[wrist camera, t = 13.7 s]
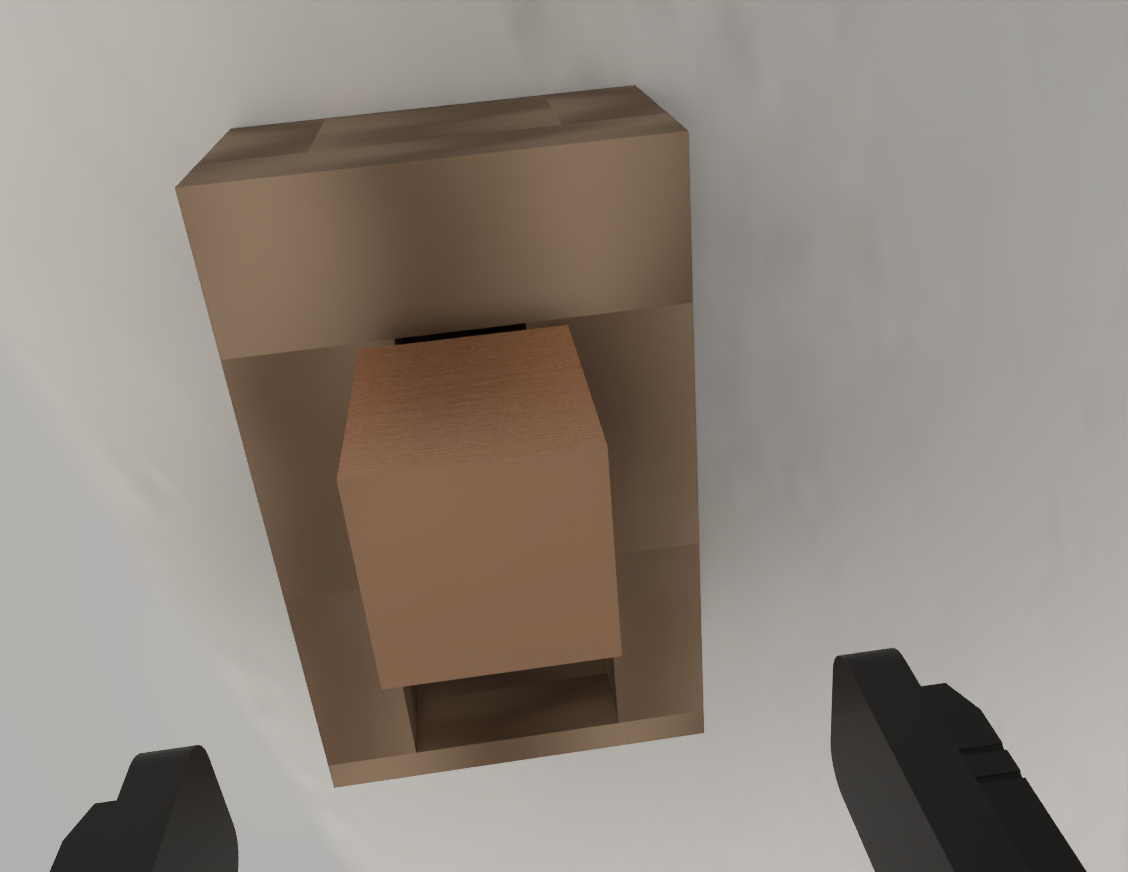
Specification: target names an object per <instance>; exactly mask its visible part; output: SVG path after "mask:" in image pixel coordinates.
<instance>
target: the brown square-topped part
mask: <svg viewBox="0 0 1128 872" xmlns="http://www.w3.org/2000/svg"><path fill="white" fill-rule="evenodd" d="M402 339H403V344H402V345H394V346H385V347H377V348H368V349H360V350H359V353H358V359H357V365H356V370H355V376H354V382H353V388H352V394H351V399H350V405H349V411H348V417H347V423H346V428H345V434H344V440H343V446H342V451H341V457H340V463H339V469H338V475H337V484H338V489H339V494H340V498H341V503H342V508H343V512H344V517H345V522H346V526H347V531H348V536H349V540H350V545H351V549H352V554H353V559H354V563H355V568H356V573H357V577H358V582H359V587H360V591H361V596H362V601H363V605H364V610H365V615H366V619H367V624H368V628H369V633H370V638H371V642H372V647H373V652H374V656H375V661H376V666H377V670H378V675H379V680H380V684H381V689H382V690H383V689H390V688H397V687H404V686H411V685H418V684H426V683H433V682H440V681H447V680H454V679H461V678H469V677H476V676H483V675H490V674H497V673H504V672H512V671H519V670H526V669H533V668H540V667H548V666H555V665H562V664H569V663H576V662H583V661H591V660H598V659H605V658H612V657H619V656H622V651H621V636H620V622H619V607H618V592H617V578H616V563H615V548H614V534H613V519H612V505H611V490H610V475H609V461H608V446H607V443H606V440H605V437H604V434H603V431H602V428H601V425H600V421H599V418H598V415H597V412H596V409H595V406H594V403H593V400H592V397H591V394H590V391H589V388H588V385H587V382H586V379H585V376H584V372H583V369H582V366H581V363H580V360H579V357H578V354H577V351H576V348H575V345H574V342H573V339H572V336H571V333H570V330H569V327H568V325H563V326H555V327H546V328H538V329H529V330H523V324H522V323H521V324H513V325H505V326H496V327H488V328H480V329H472V330H463V331H455V332H447V333H439V334H430V335H422V336H414V337H406V338H402Z"/></svg>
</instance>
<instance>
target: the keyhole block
mask: <svg viewBox="0 0 1128 872" xmlns="http://www.w3.org/2000/svg"><path fill="white" fill-rule="evenodd" d="M175 190H176V193H177V197H178V201H179V205H180V208H181V212H182V216H183V220H184V224H185V227H186V231H187V235H188V239H189V242H190V246H191V250H192V254H193V257H194V261H195V265H196V269H197V272H198V276H199V280H200V284H201V288H202V291H203V295H204V299H205V303H206V306H207V310H208V314H209V318H210V321H211V325H212V329H213V333H214V336H215V340H216V344H217V348H218V352H219V355H220V359H221V363H222V367H223V370H224V374H225V378H226V382H227V385H228V389H229V393H230V397H231V400H232V404H233V408H234V412H235V416H236V419H237V423H238V427H239V431H240V434H241V438H242V442H243V446H244V449H245V453H246V457H247V461H248V464H249V468H250V472H251V476H252V480H253V483H254V487H255V491H256V495H257V498H258V502H259V506H260V510H261V513H262V517H263V521H264V525H265V529H266V532H267V536H268V540H269V544H270V547H271V551H272V555H273V559H274V562H275V566H276V570H277V574H278V577H279V581H280V585H281V589H282V593H283V596H284V600H285V604H286V608H287V611H288V615H289V619H290V623H291V626H292V630H293V634H294V638H295V641H296V645H297V649H298V653H299V657H300V660H301V664H302V668H303V672H304V675H305V679H306V683H307V687H308V690H309V694H310V698H311V702H312V705H313V709H314V713H315V717H316V721H317V724H318V728H319V732H320V736H321V739H322V743H323V747H324V751H325V754H326V758H327V762H328V766H329V769H330V773H331V777H332V781H333V785H334V788H335V787H342V786H349V785H355V784H362V783H369V782H376V781H382V780H389V779H396V778H403V777H409V776H416V775H423V774H430V773H436V772H443V771H450V770H456V769H463V768H470V767H477V766H483V765H490V764H497V763H504V762H510V761H517V760H524V759H531V758H537V757H544V756H551V755H558V754H564V753H571V752H578V751H585V750H591V749H598V748H605V747H612V746H618V745H625V744H632V743H638V742H645V741H652V740H659V739H665V738H672V737H679V736H686V735H692V734H699V733H704V715H703V677H702V638H701V600H700V561H699V523H698V485H697V446H696V408H695V370H694V331H693V293H692V254H691V216H690V178H689V139H688V130H687V129H685V128H684V127H683V126H682V125H681V124H680V123H678V122H677V121H676V120H675V119H674V118H673V117H671V116H670V115H669V114H668V113H667V112H665V111H664V110H663V109H662V108H661V107H660V106H658V105H657V104H656V103H655V102H654V101H653V100H651V99H650V98H649V97H648V96H647V95H646V94H644V93H643V92H642V91H641V90H640V89H638V88H637V87H636V86H635V85H634V86H625V87H615V88H606V89H597V90H588V91H578V92H569V93H560V94H550V95H541V96H532V97H522V98H513V99H504V100H494V101H485V102H476V103H467V104H457V105H448V106H439V107H429V108H420V109H411V110H401V111H392V112H383V113H374V114H364V115H355V116H346V117H336V118H327V119H318V120H308V121H299V122H290V123H280V124H271V125H262V126H253V127H243V128H234V129H230V130H229V131H228V132H227V133H226V134H225V135H224V137H223V138H222V139H221V140H220V141H219V142H218V143H217V144H216V145H215V146H214V147H213V148H212V149H211V150H210V151H209V152H208V153H207V154H206V156H205V157H204V158H203V159H202V160H201V161H200V162H199V163H198V164H197V165H196V166H195V167H194V168H193V169H192V170H191V171H190V172H189V173H188V175H187V176H186V177H185V178H184V179H183V180H182V181H181V182H180V183H179V184H178V185H177V186H176V187H175ZM521 323H522V324H523V330H529V329H538V328H546V327H555V326H563V325H568V327H569V330H570V333H571V336H572V339H573V342H574V345H575V348H576V351H577V354H578V357H579V360H580V363H581V366H582V369H583V372H584V376H585V379H586V382H587V385H588V388H589V391H590V394H591V397H592V400H593V403H594V406H595V409H596V412H597V415H598V418H599V421H600V425H601V428H602V431H603V434H604V437H605V440H606V443H607V446H608V461H609V475H610V490H611V505H612V519H613V534H614V548H615V563H616V578H617V592H618V607H619V622H620V636H621V651H622V656H619V657H612V658H605V659H598V660H591V661H583V662H576V663H569V664H562V665H555V666H548V667H540V668H533V669H526V670H519V671H512V672H504V673H497V674H490V675H483V676H476V677H469V678H461V679H454V680H447V681H440V682H433V683H426V684H418V685H411V686H404V687H397V688H390V689H383V690H382V689H381V684H380V680H379V675H378V670H377V666H376V661H375V656H374V652H373V647H372V642H371V638H370V633H369V628H368V624H367V619H366V615H365V610H364V605H363V601H362V596H361V591H360V587H359V582H358V577H357V573H356V568H355V563H354V559H353V554H352V549H351V545H350V540H349V536H348V531H347V526H346V522H345V517H344V512H343V508H342V503H341V498H340V494H339V489H338V484H337V475H338V469H339V463H340V457H341V451H342V446H343V440H344V434H345V428H346V423H347V417H348V411H349V405H350V399H351V394H352V388H353V382H354V376H355V370H356V365H357V359H358V353H359V350H360V349H368V348H377V347H385V346H394V345H402V344H403V339H402V338H406V337H414V336H422V335H430V334H439V333H447V332H455V331H463V330H472V329H480V328H488V327H496V326H505V325H513V324H521Z"/></svg>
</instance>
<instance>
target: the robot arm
mask: <svg viewBox="0 0 1128 872" xmlns="http://www.w3.org/2000/svg"><path fill="white" fill-rule="evenodd" d="M831 754H832V761H833V767H834V771H835V775H836V779H837V783H838V786H839V789H840V792H841V794H842V797H843V799H844V801H845V803H846V806H847V808H848V810H849V813H850V815H851V817H852V820H853V822H854V824H855V827H856V829H857V831H858V833H859V836H860V838H861V840H862V843H863V845H864V847H865V850H866V852H867V854H868V856H869V859H870V861H871V863H872V866H873V868H874V870H875V872H1086V870H1085V869H1084V867H1083V866H1082V864H1081V863H1080V861H1079V859H1078V858H1077V856H1076V855H1075V853H1074V852H1073V850H1072V849H1071V847H1070V846H1069V844H1068V843H1067V841H1066V840H1065V838H1064V836H1063V835H1062V833H1061V832H1060V830H1059V829H1058V827H1057V826H1056V824H1055V823H1054V821H1053V820H1052V818H1051V817H1050V815H1049V814H1048V812H1047V810H1046V809H1045V807H1044V806H1043V804H1042V803H1041V801H1040V800H1039V798H1038V797H1037V795H1036V794H1035V792H1034V791H1033V789H1032V788H1031V786H1030V784H1029V783H1028V781H1027V780H1026V778H1022V776H1021V773H1020V769H1019V768H1018V766H1017V765H1016V763H1015V761H1014V760H1013V758H1012V757H1011V755H1010V754H1009V752H1008V751H1007V750H1004V748H1003V745H1002V742H1001V740H1000V739H999V737H998V735H997V734H996V732H995V731H994V729H993V728H992V726H991V725H990V723H989V722H988V720H987V719H986V717H985V716H984V714H983V712H982V711H981V710H980V709H979V708H978V707H976V706H975V705H974V704H973V703H971V702H970V701H969V700H967V699H966V698H965V697H963V696H962V695H961V694H959V693H958V692H957V691H955V690H954V689H953V688H951V687H950V686H949V685H948V684H946V683H942V684H935V685H928V686H920V684H919V683H918V681H917V679H916V678H915V676H914V674H913V672H912V671H911V669H910V667H909V666H908V664H907V662H906V661H905V659H904V657H903V656H902V654H901V653H900V652H899V651H898V650H897V649H895V648H889V649H882V650H875V651H868V652H861V653H854V654H847V655H840V656H837V657H836V658H835V660H834V665H833V687H832V717H831ZM50 872H238V843H237V836H236V832H235V828H234V825H233V822H232V819H231V817H230V814H229V811H228V808H227V806H226V803H225V800H224V797H223V795H222V792H221V789H220V786H219V784H218V781H217V779H216V776H215V773H214V770H213V767H212V765H211V762H210V759H209V757H208V754H207V752H206V750H205V749H204V748H203V747H202V746H200V745H195V746H188V747H181V748H174V749H168V750H161V751H153V752H147V753H140V754H138V755H137V756H136V757H135V758H134V759H133V761H132V762H131V765H130V767H129V770H128V772H127V775H126V778H125V780H124V783H123V785H122V788H121V790H120V793H119V796H118V798H117V800H116V801H109V802H103V803H96V804H94V805H93V806H92V807H91V809H90V810H89V811H88V812H87V813H86V815H85V816H84V817H83V818H82V819H81V820H80V821H79V823H78V824H77V825H76V826H75V827H74V828H73V830H72V831H71V832H70V833H69V834H68V835H67V837H66V838H65V839H64V840H63V842H62V844H61V846H60V849H59V851H58V853H57V856H56V858H55V861H54V863H53V865H52V868H51V870H50Z"/></svg>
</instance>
